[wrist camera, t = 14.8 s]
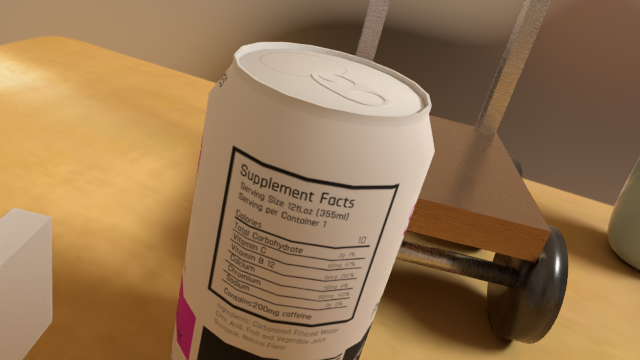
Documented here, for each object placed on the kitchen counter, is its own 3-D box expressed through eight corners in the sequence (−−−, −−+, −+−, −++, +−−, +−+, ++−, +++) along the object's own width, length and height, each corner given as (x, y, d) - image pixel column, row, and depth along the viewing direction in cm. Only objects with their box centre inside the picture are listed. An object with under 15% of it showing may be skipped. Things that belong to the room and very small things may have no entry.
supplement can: (133, 355, 25) (167, 36, 18) (270, 297, 31) (334, 37, 24) (238, 496, 21) (335, 140, 14) (375, 397, 26) (491, 111, 20)
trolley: (475, 216, 46) (631, -146, 34) (527, 370, 31) (845, -190, 18) (298, 172, 45) (391, -212, 33) (260, 305, 30) (408, -312, 18)
